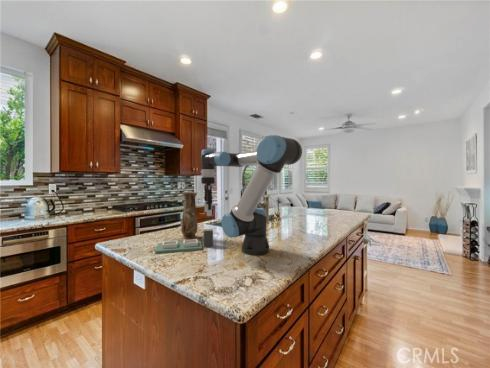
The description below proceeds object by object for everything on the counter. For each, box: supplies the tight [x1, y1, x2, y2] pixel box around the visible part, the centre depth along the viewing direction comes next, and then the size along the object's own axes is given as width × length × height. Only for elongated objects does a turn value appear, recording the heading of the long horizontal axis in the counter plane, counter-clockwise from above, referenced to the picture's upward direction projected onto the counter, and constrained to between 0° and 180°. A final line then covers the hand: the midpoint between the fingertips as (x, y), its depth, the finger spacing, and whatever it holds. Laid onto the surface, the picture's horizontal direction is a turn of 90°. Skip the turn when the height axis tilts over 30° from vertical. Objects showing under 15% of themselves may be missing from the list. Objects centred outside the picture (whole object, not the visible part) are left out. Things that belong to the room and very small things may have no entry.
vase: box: [180, 191, 199, 240], centre depth 150 cm, size 10×11×30 cm
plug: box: [203, 228, 214, 248], centre depth 133 cm, size 5×4×9 cm
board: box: [154, 238, 203, 254], centre depth 129 cm, size 24×14×3 cm, turn 105°
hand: (208, 213), depth 133 cm, fingers open, 13 cm apart
